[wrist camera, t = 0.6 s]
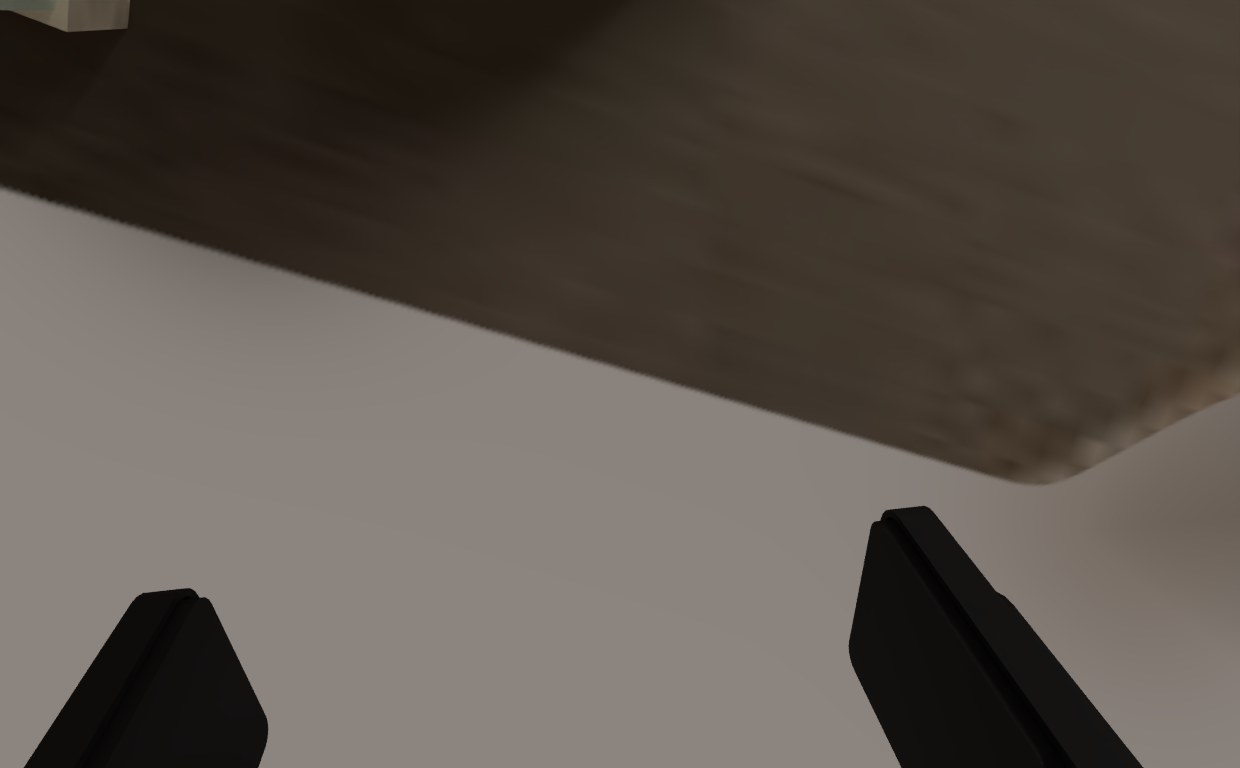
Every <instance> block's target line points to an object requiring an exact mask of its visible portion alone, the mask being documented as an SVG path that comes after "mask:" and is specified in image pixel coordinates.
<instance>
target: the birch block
mask: <svg viewBox="0 0 1240 768" xmlns="http://www.w3.org/2000/svg"><path fill="white" fill-rule="evenodd" d="M129 9H130V0H55V10H10V11H13V12H16V13H18V14H21V15H23V16H26V17H29V18H31V19H34V20H37V21H39V22H42V23H45V24H47V25H50V26H52V27H55V28H58V29H60V30H63V31H66V32H77V31H94V30H111V29H128V20H129Z"/></svg>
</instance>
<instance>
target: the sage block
mask: <svg viewBox="0 0 1240 768" xmlns="http://www.w3.org/2000/svg"><path fill="white" fill-rule="evenodd" d="M0 10H55V0H0Z"/></svg>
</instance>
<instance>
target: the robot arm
mask: <svg viewBox="0 0 1240 768" xmlns="http://www.w3.org/2000/svg"><path fill="white" fill-rule="evenodd" d="M849 654H850V659H851V663H852V666H853V668H854V670H855V673H856V675H857V677H858V679H859V681H860V683H861V685H862V687H863V689H864V691H865V693H866V695H867V697H868V699H869V701H870V704H871V706H872V708H873V710H874V712H875V714H876V716H877V718H878V720H879V722H880V724H881V726H882V728H883V730H884V733H885V734H886V737H887V739H888V741H889V743H890V745H891V747H892V749H893V751H894V753H895V755H896V757H897V759H898V761H899V763H900V765H901V768H1143V767H1142V766H1141V764H1140V763H1139V762H1138V760H1137V759H1136V758H1135V757H1134V755H1133V754H1132V753H1131V752H1130V750H1129V749H1128V748H1127V747H1126V746H1125V744H1124V743H1123V742H1122V740H1121V739H1120V738H1119V737H1118V735H1117V734H1116V733H1115V732H1114V730H1113V729H1112V728H1111V727H1110V725H1109V724H1108V723H1107V722H1106V720H1105V719H1104V718H1103V717H1102V715H1101V714H1100V713H1099V712H1098V710H1097V709H1096V708H1095V707H1094V705H1093V704H1092V703H1091V702H1090V700H1089V699H1088V698H1087V697H1086V695H1085V694H1084V693H1083V691H1082V690H1081V689H1080V688H1079V687H1078V685H1077V684H1076V683H1075V682H1074V680H1073V679H1072V678H1071V676H1070V675H1069V674H1068V673H1067V671H1066V670H1065V669H1064V668H1063V666H1062V665H1061V664H1060V663H1059V662H1058V660H1057V659H1056V658H1055V656H1054V655H1053V654H1052V653H1051V651H1050V650H1049V649H1048V648H1047V646H1046V645H1045V644H1044V643H1043V641H1042V640H1041V639H1040V638H1039V636H1038V635H1037V634H1036V633H1035V631H1034V630H1033V629H1032V628H1031V626H1030V625H1029V624H1028V622H1027V621H1026V620H1025V619H1024V617H1023V616H1022V615H1021V614H1020V613H1019V612H1018V610H1017V609H1016V608H1015V606H1014V605H1013V604H1012V603H1011V602H1010V601H1009V600H1008V599H1007V598H1006V597H1005V596H1003V595H1001V594H1000V593H998V592H996V591H995V590H994V588H993V587H992V586H991V585H990V583H989V582H988V581H987V579H986V578H985V577H984V576H983V574H982V573H981V572H980V571H979V569H978V568H977V567H976V565H975V564H974V563H973V562H972V560H971V559H970V558H969V557H968V555H967V554H966V553H965V551H964V550H963V549H962V548H961V546H960V545H959V544H958V543H957V541H956V540H955V539H954V537H953V536H952V535H951V534H950V532H949V531H948V530H947V529H946V527H945V526H944V525H943V523H942V522H941V521H940V520H939V519H938V517H937V516H936V515H935V514H934V512H933V511H932V510H931V509H930V508H928V507H926V506H918V507H911V508H910V507H909V508H901V509H893V510H886V511H885V512H884V513H883V514H882V517H881V520H880V521H876V522H874V523H873V524H872V526H871V529H870V535H869V540H868V545H867V550H866V556H865V561H864V566H863V571H862V577H861V582H860V587H859V593H858V598H857V603H856V608H855V613H854V619H853V624H852V629H851V634H850V640H849ZM267 737H268V723H267V718H266V715H265V713H264V711H263V709H262V707H261V705H260V703H259V701H258V699H257V697H256V695H255V693H254V690H253V689H252V686H251V685H250V682H249V681H248V678H247V676H246V674H245V672H244V670H243V668H242V666H241V664H240V661H239V659H238V657H237V655H236V653H235V651H234V649H233V647H232V645H231V643H230V641H229V639H228V637H227V635H226V633H225V630H224V628H223V626H222V624H221V622H220V620H219V618H218V616H217V614H216V612H215V610H214V607H213V605H212V604H211V602H210V601H209V599H207V598H205V597H203V598H199V596H198V595H197V593H196V592H195V591H194V590H192V589H190V588H186V589H176V590H167V591H158V592H149V593H142V594H141V595H139V596H138V597H136V598H135V600H134V601H133V602H132V603H131V604H130V606H129V608H128V609H127V611H126V612H125V614H124V615H123V617H122V618H121V620H120V621H119V623H118V624H117V626H116V627H115V629H114V630H113V632H112V634H111V635H110V637H109V638H108V640H107V641H106V643H105V644H104V646H103V647H102V649H101V650H100V652H99V654H98V655H97V657H96V658H95V660H94V661H93V663H92V664H91V666H90V667H89V669H88V670H87V672H86V673H85V675H84V676H83V678H82V679H81V681H80V682H79V684H78V686H77V687H76V689H75V690H74V692H73V693H72V695H71V696H70V698H69V700H68V701H67V702H66V704H65V705H64V707H63V709H62V710H61V712H60V713H59V715H58V716H57V718H56V719H55V721H54V722H53V724H52V725H51V727H50V729H49V730H48V732H47V733H46V735H45V736H44V738H43V739H42V741H41V742H40V744H39V745H38V747H37V749H36V750H35V752H34V753H33V754H32V756H31V757H30V759H29V760H28V762H27V764H26V765H25V767H24V768H258V767H259V764H260V761H261V758H262V755H263V753H264V749H265V747H266V743H267Z"/></svg>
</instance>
